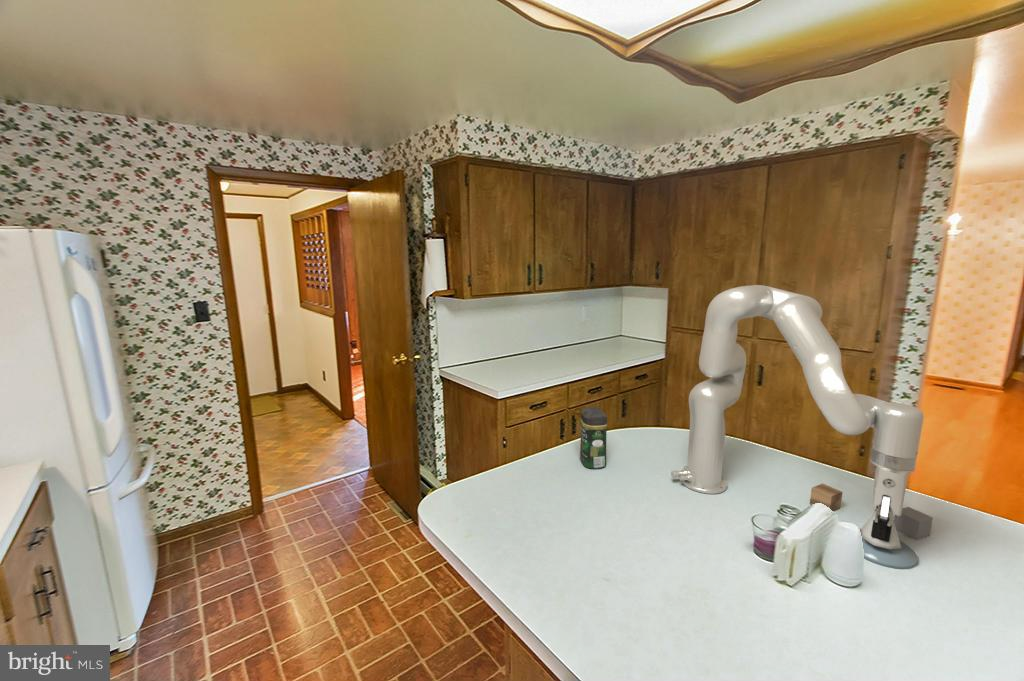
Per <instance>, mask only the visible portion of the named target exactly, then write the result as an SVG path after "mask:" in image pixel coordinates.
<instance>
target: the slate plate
mask: <svg viewBox="0 0 1024 681" xmlns="http://www.w3.org/2000/svg"><path fill="white" fill-rule="evenodd" d="M859 529H860V530H861V529H862V528H859ZM861 536H862V535H861ZM899 541H900V545H901V548H900V549H886V548H882V547H878V546H875V545H872V544H871V543H870V542H868V541H867V540H865V539H864V538H862V542H863V549H864V558H863V560H864V559H865V560H867V561H869V562H870V563H873V564H876V565H879V566H882V567H886V568H891V569H895V570H910V569H913V568H915V567H916V566H917V565H918V561H919V560H918V559H919V556H918V553H916V551H915V550H914V549H913V547H911V546H910V545H908V544H907V543H905V542H904V541H901V540H900V539H899Z"/></svg>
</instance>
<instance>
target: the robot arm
mask: <svg viewBox="0 0 1024 681" xmlns="http://www.w3.org/2000/svg"><path fill="white" fill-rule="evenodd" d="M707 306H708V307H707V309H706V313H705V314H706V315H705V321H704V329H703V333H702V340H701V346H700V353H699V359H698V366H699V370H700V372H701V373H702V374H703V375H704V376H705V377H707V378H708V379H705V380H704V381H702V382H701V381H700V382H699V383H697V384H695V386H694V387H692V389H691V390H690V392H689V394H688V406H689V407H688V409H689V432H688V434H689V436H688V448H687V449H688V450H687V465H683V469H680V470H671V472H670V476H671V478H678V479H679V481H680V482H681V483H682V484H683V486H685V487H686V488H689V489H690V490H693V491H695V492H698V493H702V494H708V495H709V494H710V495H711V494H712V495H713V494H714V495H715V494H716V495H717V494H721V493H723V492H725V491H726V490H727V487H728V486H727V485H728V484H727V481H726V480H725V479H724V477H722V476H723V464H724V463H723V462H724V451H725V440H726V421H725V420H726V419H725V415H724V414H725V410H726V409H728V408H730V407H732V406H733V405H735V404H736V403H737V402H738V401H739V399H740V396H741V395H742V394H741V393H742V389H743V383H744V378H745V374H746V366H747V354H746V351H745V349H744V348H743V347H742V345H740V344H739V343H738V342H737V338H738V332H739V330H738V328H739V327H738V322H739V321H740V320H743V319H750V318H755V317H761V318H765V319H769V320H771V321H773V322H774V323H775V325H776V326H777V329H778V330H779V332H780V334H781V335H782V336H783V338H784V340H785V341H786V343H787V344H788V346H789V348H790V349H791V351H792V353H793V354H794V355H795V357H796V358H797V360H798V362H799V363H800V366H801V368H802V372H803V376H804V378H805V380H806V384H807V386H808V390H809V392H810V394H811V396H812V398H813V400H814V402H815V404H816V405H817V407H818V409H819V411H820V412H821V414H822V416H824V419H826V421H827V423H828V424H829V425H830V426H831V427H832V428H833V429H834V430H836V431H837V432H838V433H840V434H843V435H846V436H858V435H861V434H864V433H865V432H867V430H869V428H872V429H873V430H874V434H873V441H872V447H871V453H870V459H869V460H870V461H869V462H870V463H872V465H874V466H876V467H875V472H874V480H873V481H874V482H873V491H872V493H873V494H872V507H873V509H874V512H875V511H876V515H875V520H873V525H872V531H871V537H873V538H876V539H879V540H882V541H885V542H889V540H890V534H891V529H892V525H891V520H892V515H893V516H895V515H897V516H901V514H902V509H903V508H904V502H905V497H906V496H905V494H906V489H907V481H908V474H911V473H914V472H915V469H916V464H917V457H918V452H919V447H920V446H919V445H920V441H921V436H922V430H923V424H924V418H925V417H924V413H923V411H922V410H921V409H920V408H919V407H916V406H914V405H910V404H905V403H902V402H901V403H900V402H890V401H886V400H883V399H880V398H876V397H873V396H869V395H866V394H862V393H853V392H852V390H851V388H850V386H849V385H848V382H847V380H846V379H845V376H844V372H843V366H842V353H841V350H840V348H839V346H838V344H837V343H836V341H835V340H834V338H833V337H832V335H831V334H830V333H829V331H828V329H827V328H826V327H825V325H824V324H823V322H822V321H821V319H822V317H823V308H822V306H821V304H820V303H819V302H818V300H816V299H815V298H813V297H811V296H808V295H805V294H800V293H796V292H792V291H788V290H785V289H781V288H780V289H779V288H775V287H771V286H767V285H763V284H754V285H753V284H752V285H751V284H750V285H743V286H736V287H732V288H729V289H726V290H723V291H722V292H720V293H718V294H717V295H716V296H715V297H714V298H713V299H712V300H711V301H710V302H709V304H708V305H707ZM882 497H883V500H882ZM890 499H891V500H890ZM879 504H880V506H881V509H880V508H879ZM889 509H891V511H889ZM879 512H881V514H880V515H879ZM888 514H889V517H888Z"/></svg>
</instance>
